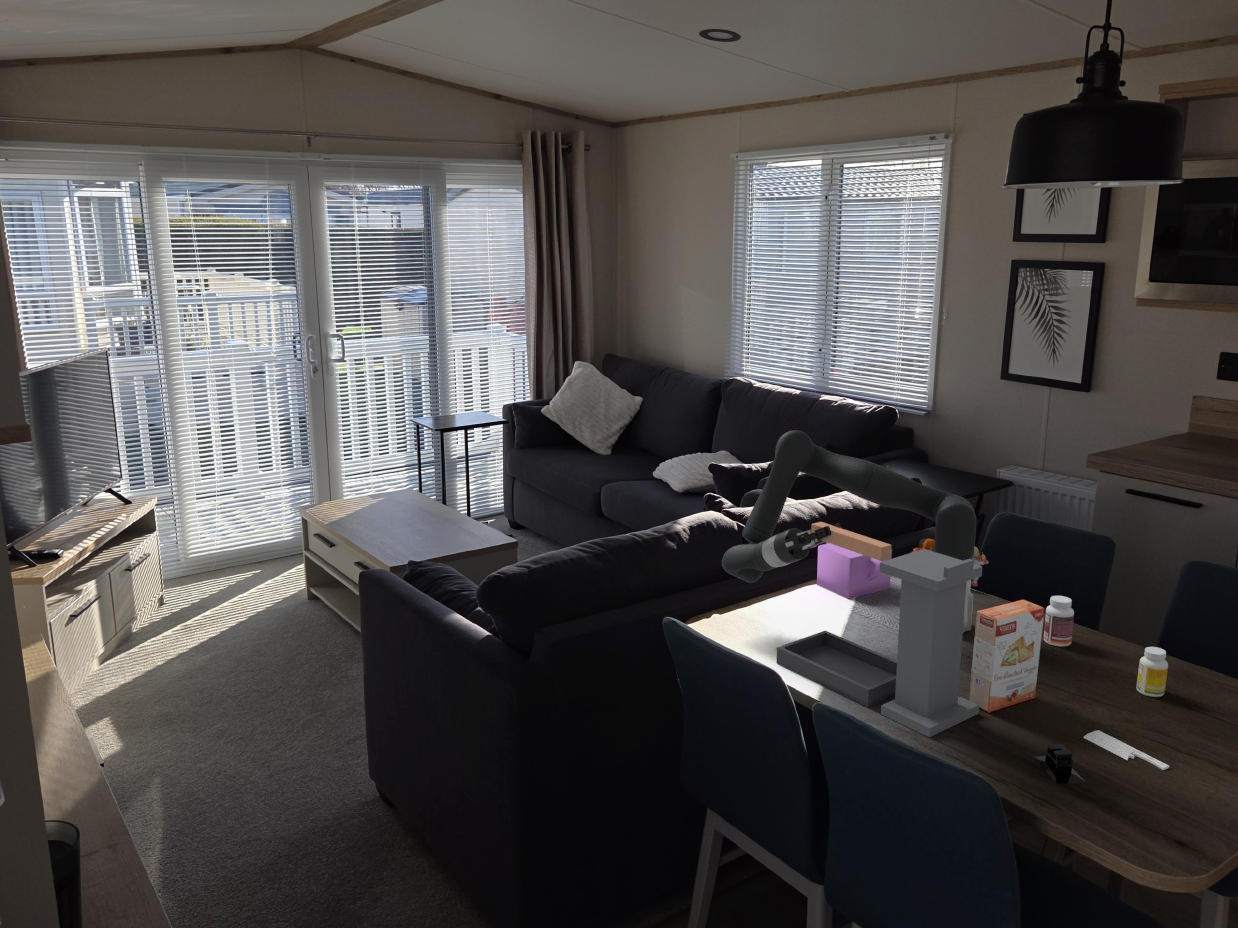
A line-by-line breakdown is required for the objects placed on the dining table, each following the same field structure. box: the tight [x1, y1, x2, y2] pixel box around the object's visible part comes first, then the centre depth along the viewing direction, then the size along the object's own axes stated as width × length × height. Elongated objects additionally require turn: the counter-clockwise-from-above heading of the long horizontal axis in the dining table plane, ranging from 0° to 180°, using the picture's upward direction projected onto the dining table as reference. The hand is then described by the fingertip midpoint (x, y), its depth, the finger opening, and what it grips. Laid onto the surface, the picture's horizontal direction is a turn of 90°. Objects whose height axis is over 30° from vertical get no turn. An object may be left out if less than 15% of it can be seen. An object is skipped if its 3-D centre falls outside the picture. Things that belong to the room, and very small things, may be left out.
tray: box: [776, 630, 897, 708], centre depth 220 cm, size 27×16×4 cm, turn 35°
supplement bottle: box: [1136, 646, 1169, 698], centre depth 209 cm, size 5×5×10 cm
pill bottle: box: [1043, 595, 1075, 648], centre depth 235 cm, size 6×6×11 cm
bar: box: [810, 521, 892, 561], centre depth 213 cm, size 20×3×3 cm, turn 35°
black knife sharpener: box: [1031, 743, 1087, 785], centre depth 181 cm, size 12×7×5 cm, turn 4°
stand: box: [879, 549, 983, 738], centre depth 200 cm, size 15×16×34 cm
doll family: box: [912, 538, 989, 587], centre depth 274 cm, size 21×10×13 cm, turn 58°
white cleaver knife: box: [1083, 729, 1170, 771], centre depth 187 cm, size 5×15×1 cm, turn 26°
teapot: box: [816, 542, 893, 600], centre depth 274 cm, size 15×25×14 cm, turn 29°
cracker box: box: [968, 599, 1046, 713], centre depth 205 cm, size 14×6×21 cm, turn 117°
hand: (834, 528), depth 217 cm, fingers closed on bar, 3 cm apart
